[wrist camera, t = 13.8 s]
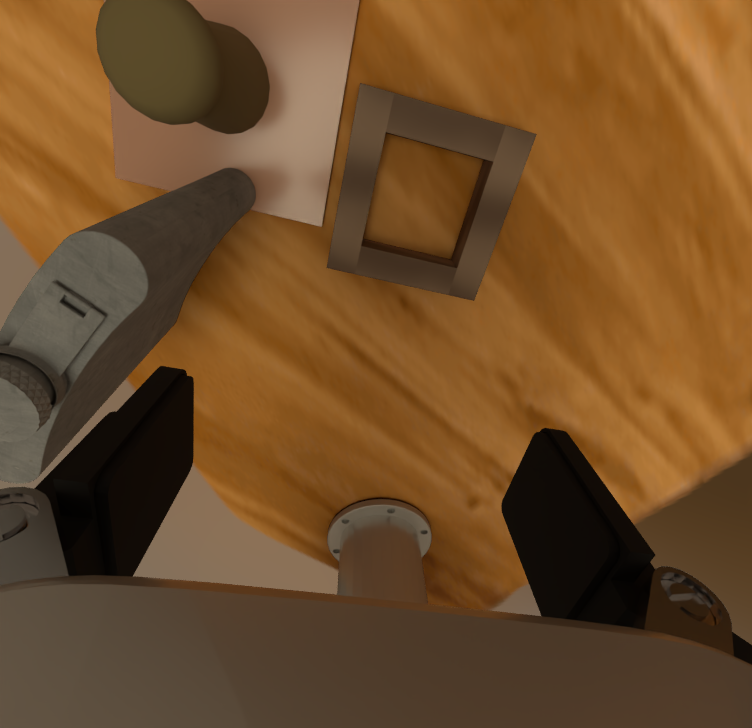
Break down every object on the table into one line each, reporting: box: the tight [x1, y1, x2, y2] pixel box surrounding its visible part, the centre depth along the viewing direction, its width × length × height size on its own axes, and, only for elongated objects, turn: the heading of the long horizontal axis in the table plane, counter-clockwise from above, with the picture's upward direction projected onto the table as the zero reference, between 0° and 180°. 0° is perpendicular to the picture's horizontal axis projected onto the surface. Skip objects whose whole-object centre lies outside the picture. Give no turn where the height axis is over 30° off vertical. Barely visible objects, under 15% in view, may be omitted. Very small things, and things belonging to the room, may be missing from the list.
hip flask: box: [0, 168, 256, 483], centre depth 24 cm, size 16×4×20 cm, turn 139°
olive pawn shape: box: [96, 0, 270, 134], centre depth 22 cm, size 6×6×11 cm
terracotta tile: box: [104, 0, 360, 227], centre depth 27 cm, size 15×15×1 cm
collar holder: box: [327, 83, 537, 301], centre depth 30 cm, size 12×12×2 cm
